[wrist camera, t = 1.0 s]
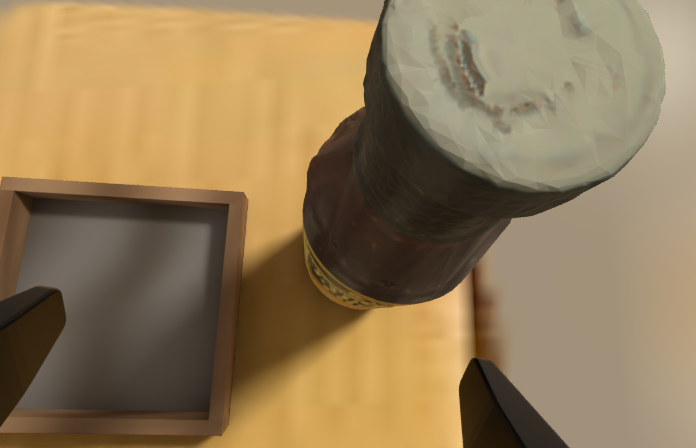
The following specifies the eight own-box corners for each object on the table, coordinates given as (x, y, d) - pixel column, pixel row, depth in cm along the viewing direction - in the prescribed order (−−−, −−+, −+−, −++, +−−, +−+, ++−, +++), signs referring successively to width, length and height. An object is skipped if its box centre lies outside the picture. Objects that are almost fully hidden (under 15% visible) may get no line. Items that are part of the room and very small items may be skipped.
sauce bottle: (294, 296, 24) (170, 211, 5) (320, 194, 26) (303, -194, 6) (406, 322, 24) (735, 340, 5) (425, 218, 26) (740, -93, 6)
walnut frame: (248, 200, 25) (243, 192, 23) (228, 424, 23) (221, 435, 21) (25, 186, 24) (2, 176, 22) (-20, 420, 21) (-51, 431, 20)
